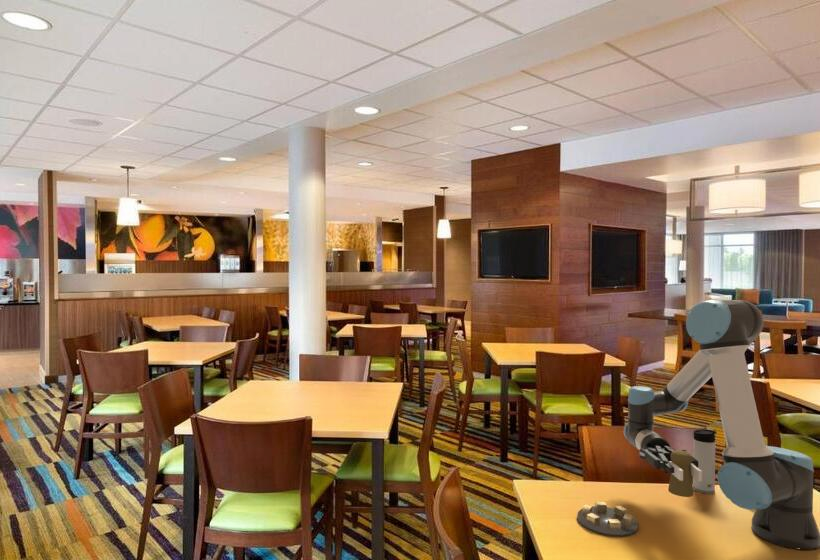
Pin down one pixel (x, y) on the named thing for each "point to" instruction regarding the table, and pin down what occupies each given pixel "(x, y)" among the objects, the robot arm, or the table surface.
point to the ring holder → (607, 520)
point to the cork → (684, 462)
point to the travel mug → (705, 460)
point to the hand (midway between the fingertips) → (690, 475)
